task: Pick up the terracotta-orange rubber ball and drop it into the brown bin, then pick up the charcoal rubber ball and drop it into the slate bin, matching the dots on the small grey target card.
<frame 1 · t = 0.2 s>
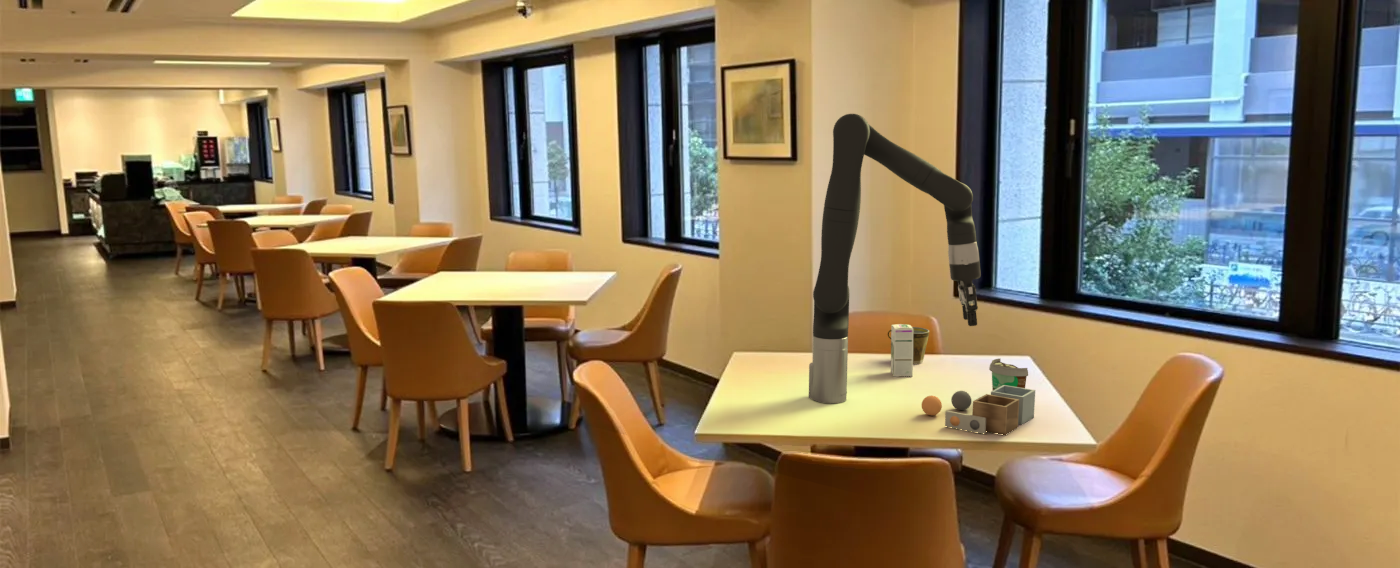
hand: (970, 322, 261), 22 cm above the table, tool pointing down, fingers open, 8 cm apart
syrup box: (901, 375, 297), on the table
slate bin: (1011, 418, 254), on the table
charcoal ball: (961, 409, 261), on the table
brown bin: (994, 428, 245), on the table
target card: (965, 430, 243), on the table
orange ball: (931, 415, 256), on the table
food container: (1002, 401, 269), on the table
ceramic cup: (906, 361, 313), on the table
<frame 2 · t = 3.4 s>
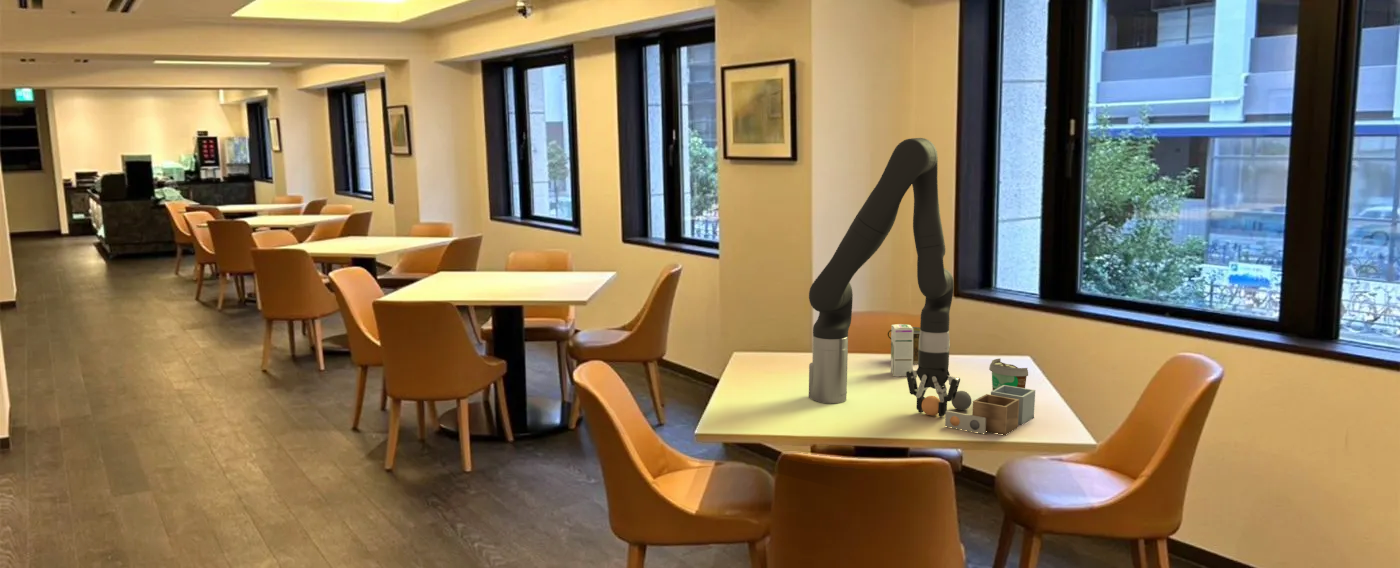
hand: (931, 413, 256), 0 cm above the table, tool pointing down, fingers closed on orange ball, 5 cm apart
orange ball: (931, 415, 256), on the table, touching gripper
everything else where it was.
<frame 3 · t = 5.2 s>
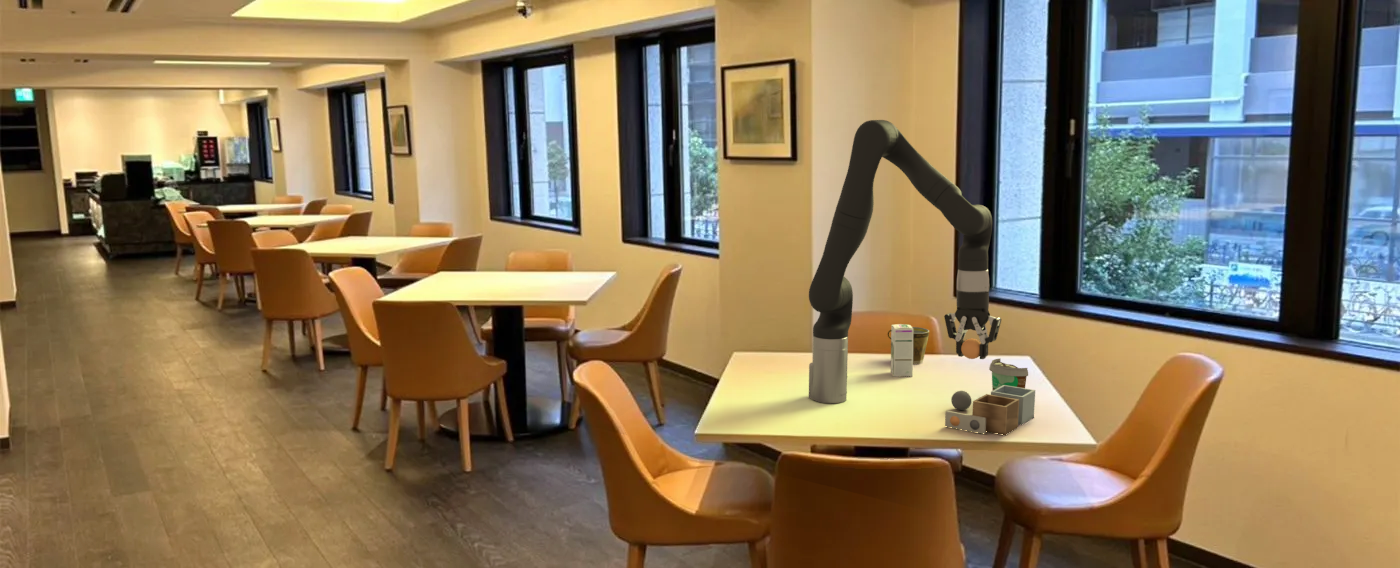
hand: (972, 357, 247), 17 cm above the table, tool pointing down, fingers closed on orange ball, 5 cm apart
orange ball: (971, 358, 247), point 16 cm above the table, touching gripper
everything else where it was.
when the fingers open (9 cm above the table, at t = 6.9 s): orange ball drops 8 cm, resting on brown bin.
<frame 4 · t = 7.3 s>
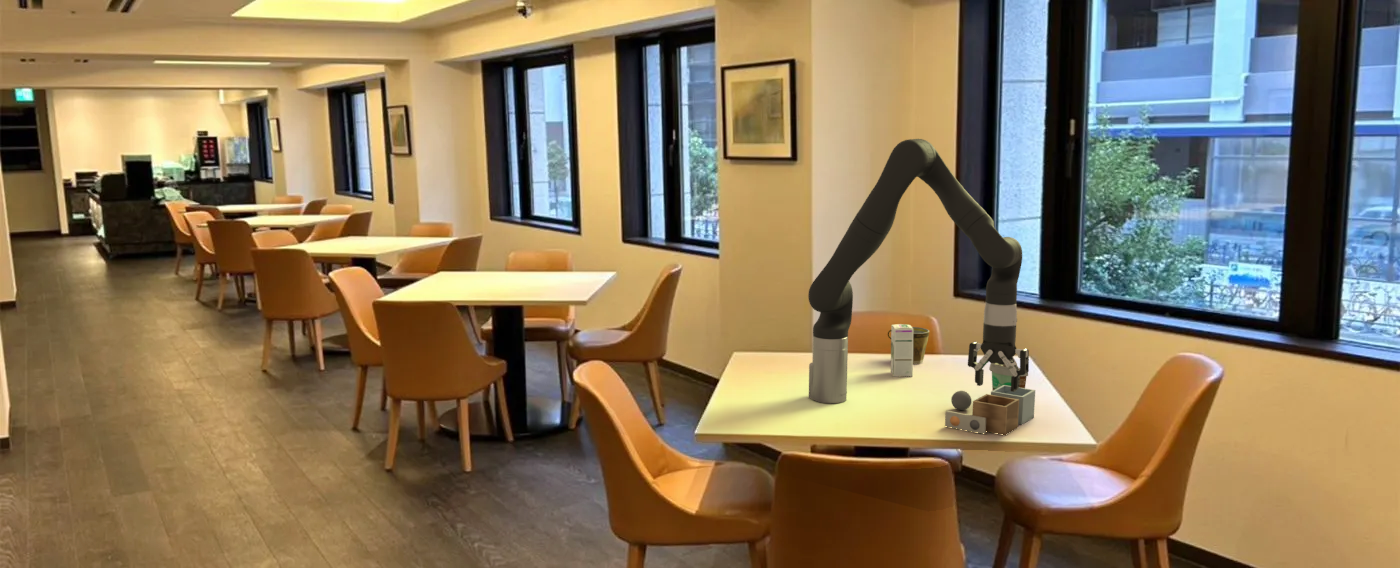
hand: (996, 388, 243), 10 cm above the table, tool pointing down, fingers open, 8 cm apart
orange ball: (994, 426, 245), point 1 cm above the table, touching brown bin
everything else where it was.
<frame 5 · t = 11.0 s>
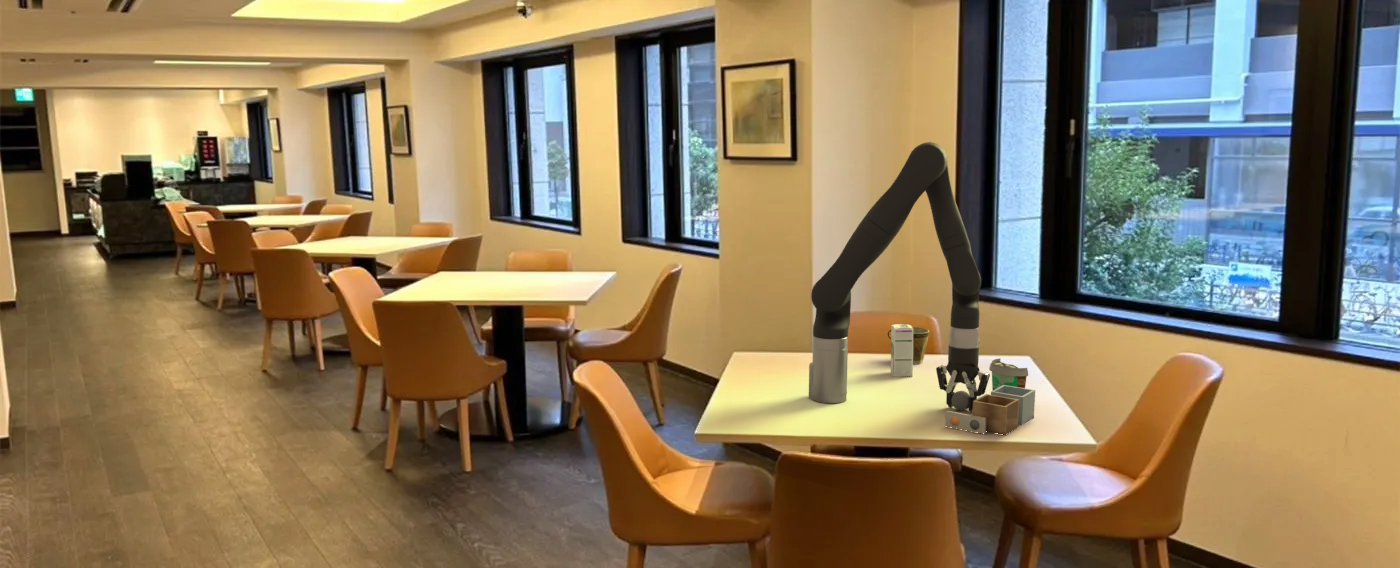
hand: (961, 408, 261), 0 cm above the table, tool pointing down, fingers closed on charcoal ball, 5 cm apart
charcoal ball: (961, 410, 261), on the table, touching gripper
everything else where it was.
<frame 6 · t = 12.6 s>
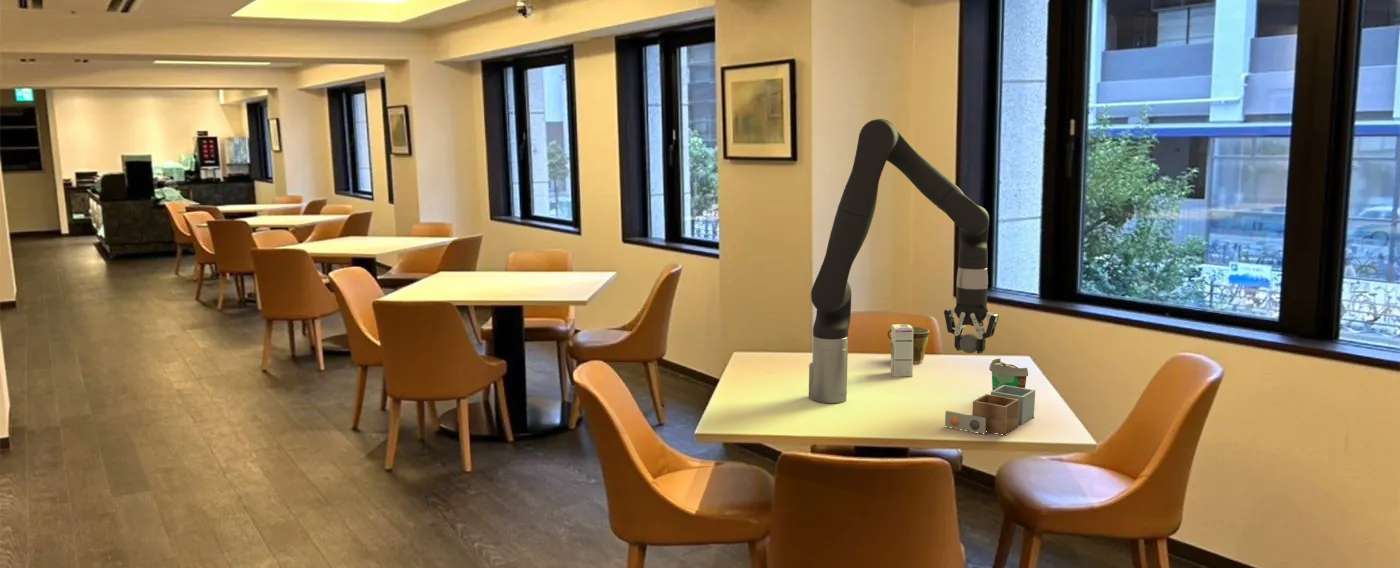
hand: (969, 351, 257), 16 cm above the table, tool pointing down, fingers closed on charcoal ball, 5 cm apart
charcoal ball: (969, 352, 258), point 15 cm above the table, touching gripper
everything else where it was.
when the fingers open (9 cm above the table, at t = 14.5 s): charcoal ball drops 8 cm, resting on slate bin.
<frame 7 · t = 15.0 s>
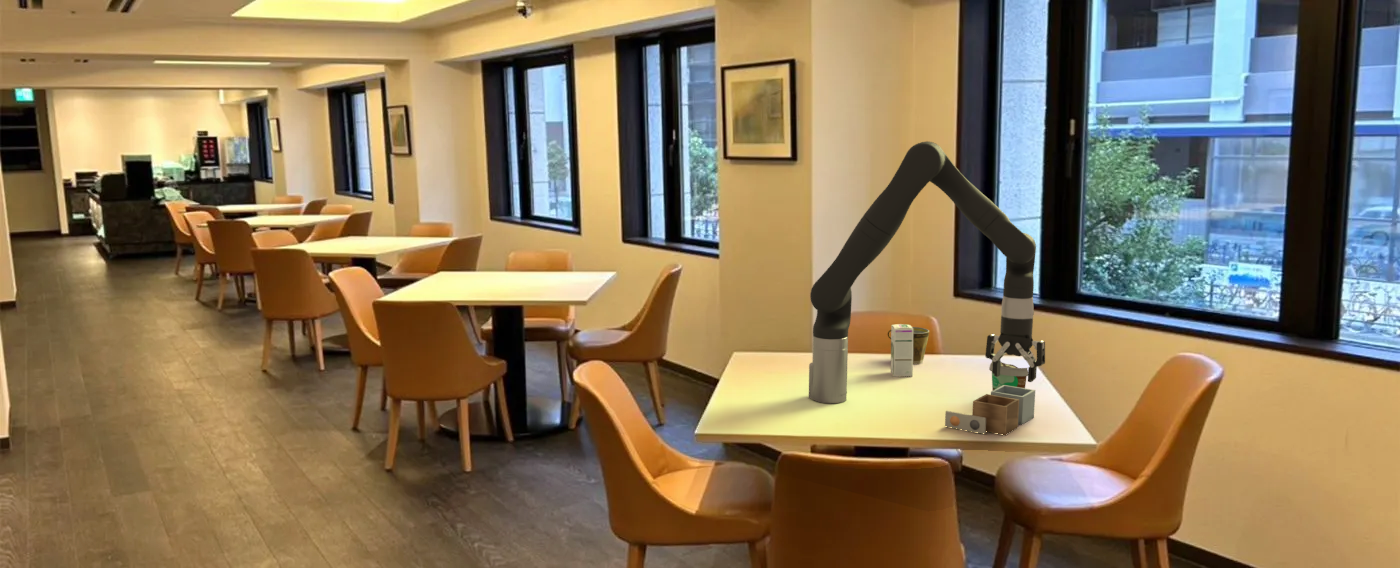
hand: (1013, 378, 252), 10 cm above the table, tool pointing down, fingers open, 8 cm apart
charcoal ball: (1011, 415, 253), point 1 cm above the table, touching slate bin
everything else where it was.
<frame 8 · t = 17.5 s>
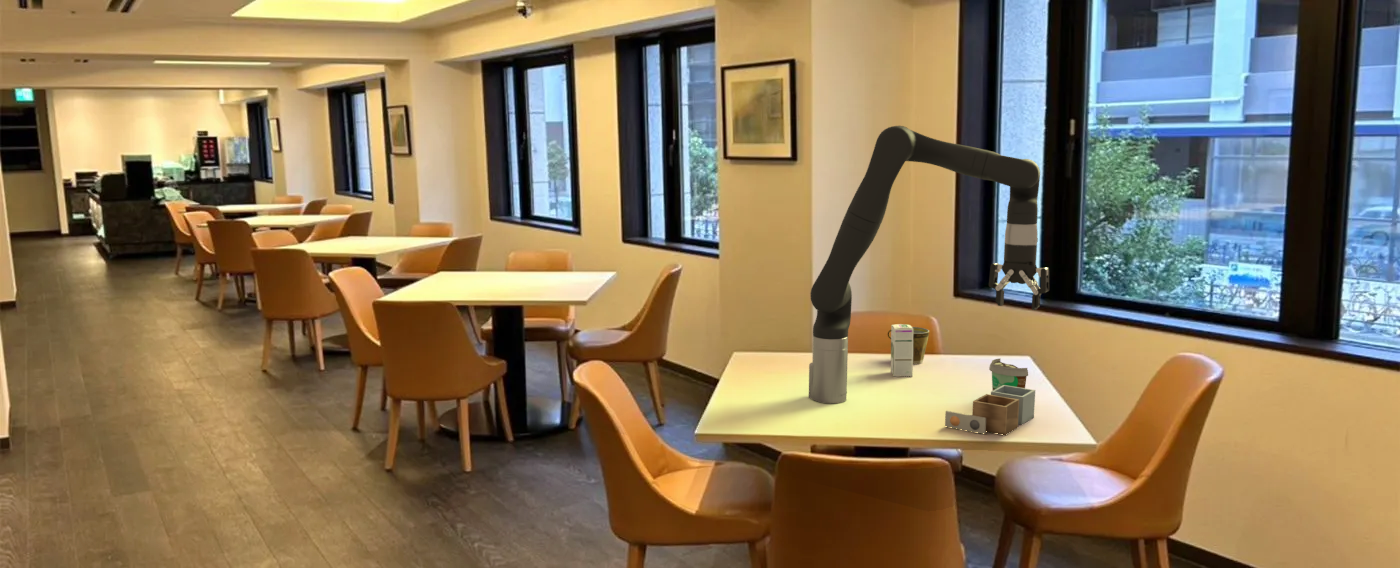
hand: (1017, 307, 249), 28 cm above the table, tool pointing down, fingers open, 8 cm apart
nothing on the table moved.
at the end: orange ball 0.0 cm off-centre on the brown bin, point 0.6 cm above the brown bin's base; charcoal ball 0.0 cm off-centre on the slate bin, point 0.6 cm above the slate bin's base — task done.
